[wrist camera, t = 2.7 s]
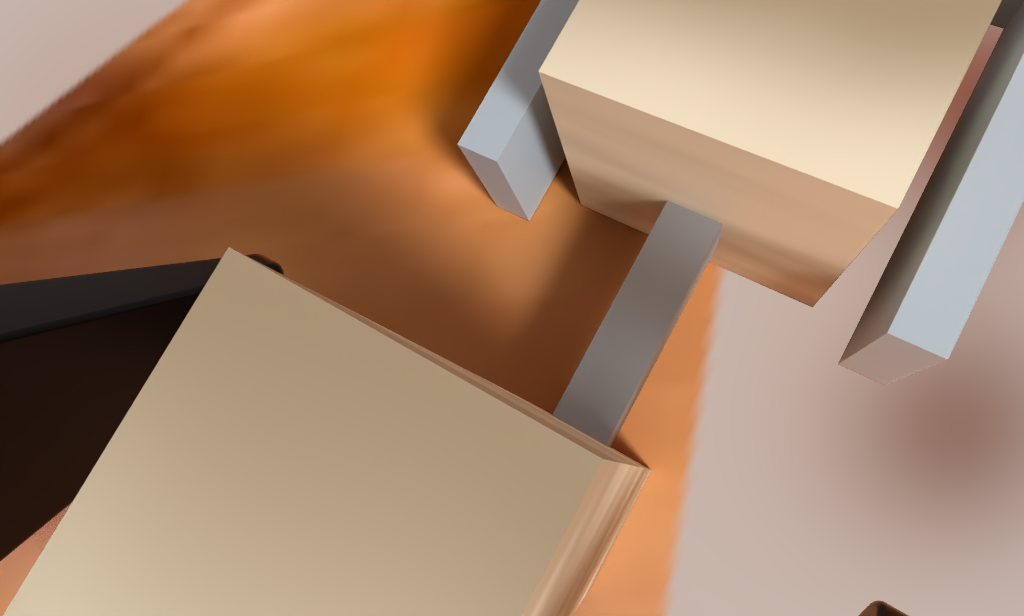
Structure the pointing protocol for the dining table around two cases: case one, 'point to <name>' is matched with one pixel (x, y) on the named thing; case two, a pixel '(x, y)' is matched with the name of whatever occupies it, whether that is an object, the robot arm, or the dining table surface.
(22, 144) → the dining table surface
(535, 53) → the stall
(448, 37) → the dining table surface
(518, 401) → the tethered block
